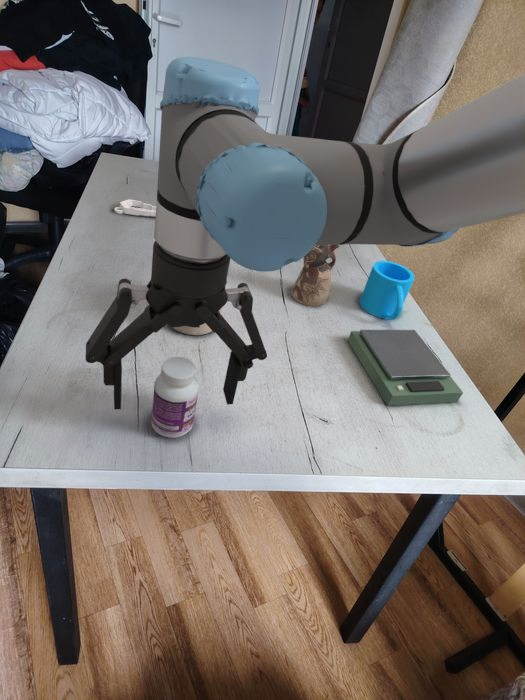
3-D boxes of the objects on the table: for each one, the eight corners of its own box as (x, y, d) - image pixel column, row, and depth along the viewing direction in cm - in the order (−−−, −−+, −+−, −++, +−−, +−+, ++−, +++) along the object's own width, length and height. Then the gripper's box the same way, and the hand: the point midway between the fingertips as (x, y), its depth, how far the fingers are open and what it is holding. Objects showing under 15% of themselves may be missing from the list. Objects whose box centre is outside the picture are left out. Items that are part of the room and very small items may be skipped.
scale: (457, 402, 77) (464, 390, 75) (387, 406, 73) (393, 393, 71) (409, 340, 88) (415, 328, 87) (347, 340, 84) (352, 328, 83)
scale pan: (449, 377, 77) (450, 375, 77) (390, 379, 74) (391, 376, 73) (413, 332, 86) (414, 329, 85) (359, 332, 82) (360, 329, 82)
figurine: (291, 283, 96) (306, 228, 89) (325, 290, 97) (343, 236, 90) (291, 302, 91) (306, 245, 83) (327, 309, 91) (346, 253, 84)
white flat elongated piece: (174, 213, 112) (175, 206, 111) (173, 222, 108) (173, 214, 107) (117, 203, 109) (117, 196, 108) (113, 212, 106) (113, 205, 105)
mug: (355, 293, 98) (368, 258, 93) (391, 298, 100) (406, 263, 95) (370, 328, 89) (385, 291, 84) (410, 332, 91) (428, 296, 86)
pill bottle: (190, 442, 60) (199, 386, 54) (147, 437, 59) (152, 379, 53) (195, 411, 64) (203, 355, 58) (154, 406, 63) (159, 349, 57)
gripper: (300, 235, 53) (262, 375, 66) (55, 217, 45) (67, 380, 58) (323, 270, 47) (277, 416, 60) (49, 257, 40) (64, 428, 53)
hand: (174, 399), depth 59 cm, fingers open, 13 cm apart
